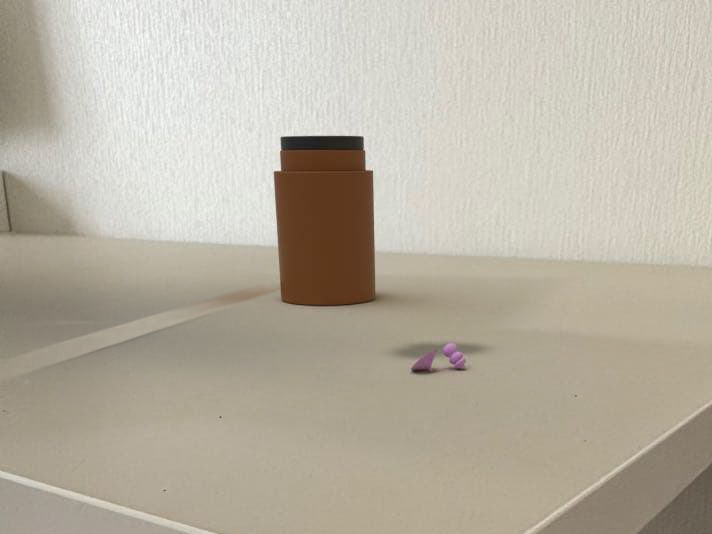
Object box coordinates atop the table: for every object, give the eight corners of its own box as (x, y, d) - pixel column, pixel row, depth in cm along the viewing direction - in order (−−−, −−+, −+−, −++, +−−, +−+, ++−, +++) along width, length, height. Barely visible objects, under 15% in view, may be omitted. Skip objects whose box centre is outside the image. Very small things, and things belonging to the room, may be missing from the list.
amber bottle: (265, 303, 72) (254, 136, 67) (303, 290, 79) (295, 138, 74) (356, 307, 70) (352, 135, 65) (387, 293, 77) (385, 136, 72)
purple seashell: (424, 397, 50) (432, 385, 48) (407, 374, 50) (415, 361, 48) (464, 370, 51) (474, 357, 49) (448, 348, 51) (456, 334, 49)
